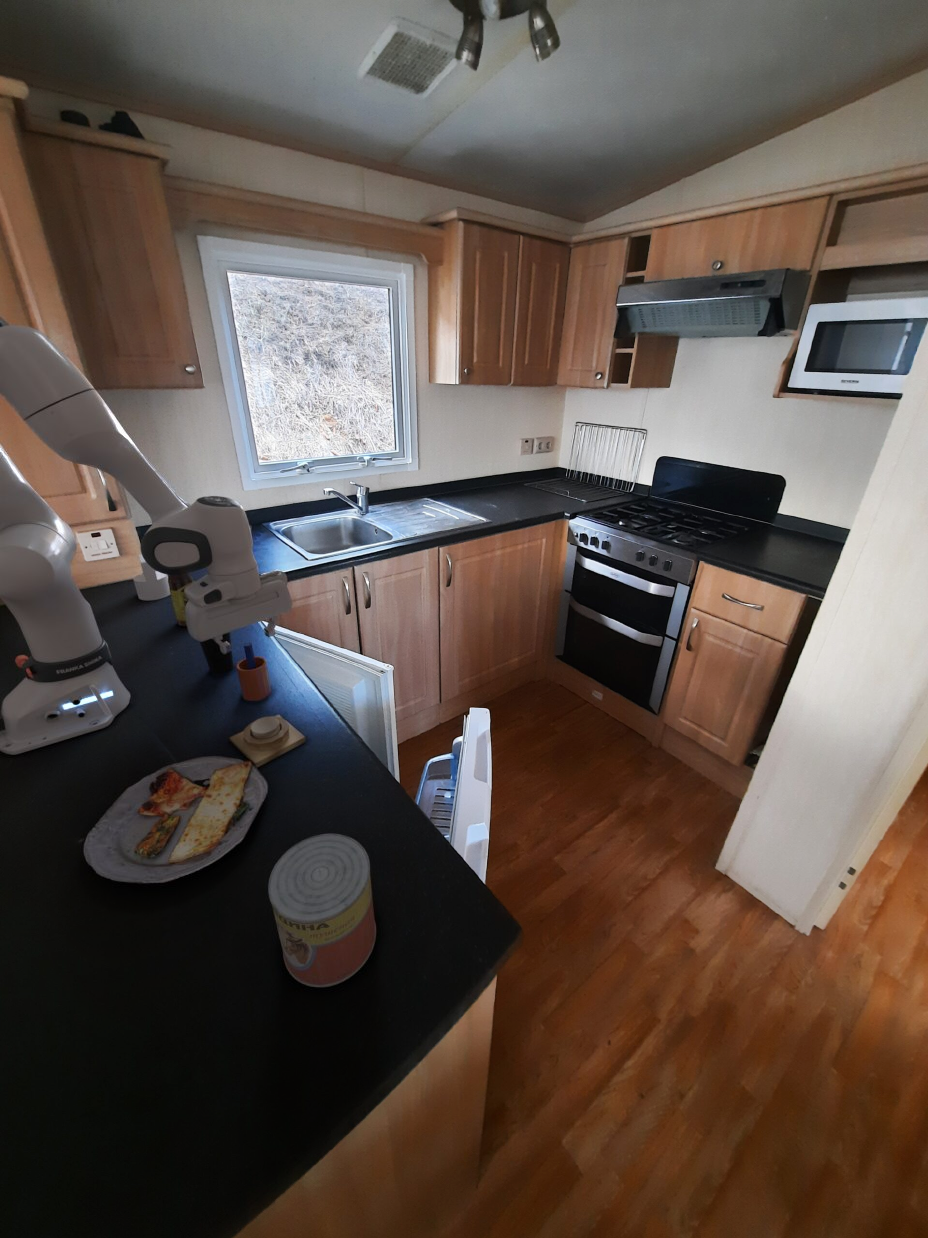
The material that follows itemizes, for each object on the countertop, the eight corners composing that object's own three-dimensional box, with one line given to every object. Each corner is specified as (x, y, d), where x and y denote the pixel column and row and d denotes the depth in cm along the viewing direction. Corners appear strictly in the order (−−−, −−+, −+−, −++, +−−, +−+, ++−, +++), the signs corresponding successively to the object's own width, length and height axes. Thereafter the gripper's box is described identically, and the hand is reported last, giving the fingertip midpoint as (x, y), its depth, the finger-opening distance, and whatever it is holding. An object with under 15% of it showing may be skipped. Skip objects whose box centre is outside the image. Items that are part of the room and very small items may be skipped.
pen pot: (251, 706, 106) (244, 674, 103) (238, 695, 110) (231, 663, 106) (276, 694, 110) (271, 663, 106) (263, 684, 113) (257, 653, 110)
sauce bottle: (192, 628, 137) (175, 558, 128) (172, 626, 138) (153, 556, 129) (208, 618, 143) (192, 550, 134) (188, 615, 144) (172, 548, 135)
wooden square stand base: (256, 768, 90) (253, 755, 88) (230, 742, 96) (227, 729, 94) (306, 741, 96) (304, 729, 95) (279, 719, 102) (277, 706, 101)
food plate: (158, 762, 91) (153, 746, 89) (287, 766, 90) (284, 751, 89) (53, 890, 68) (44, 873, 67) (223, 897, 68) (218, 880, 66)
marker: (255, 695, 108) (245, 647, 103) (251, 692, 109) (242, 644, 104) (262, 692, 110) (253, 644, 104) (258, 689, 110) (249, 641, 105)
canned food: (263, 953, 62) (246, 888, 56) (330, 881, 70) (321, 819, 65) (330, 1008, 56) (318, 943, 51) (394, 924, 65) (389, 860, 60)
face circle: (260, 743, 92) (258, 737, 91) (247, 731, 95) (245, 724, 94) (285, 731, 95) (284, 724, 94) (272, 719, 98) (270, 713, 97)
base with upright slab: (173, 596, 155) (164, 559, 150) (139, 602, 151) (128, 564, 146) (169, 586, 162) (160, 550, 157) (137, 592, 158) (126, 555, 152)
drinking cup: (198, 670, 118) (178, 592, 109) (231, 658, 123) (214, 582, 114) (212, 683, 113) (193, 602, 104) (245, 670, 118) (229, 592, 109)
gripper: (277, 563, 107) (287, 622, 113) (174, 591, 93) (192, 656, 99) (292, 571, 103) (302, 631, 109) (188, 601, 89) (206, 668, 96)
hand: (249, 643), depth 104 cm, fingers open, 8 cm apart
